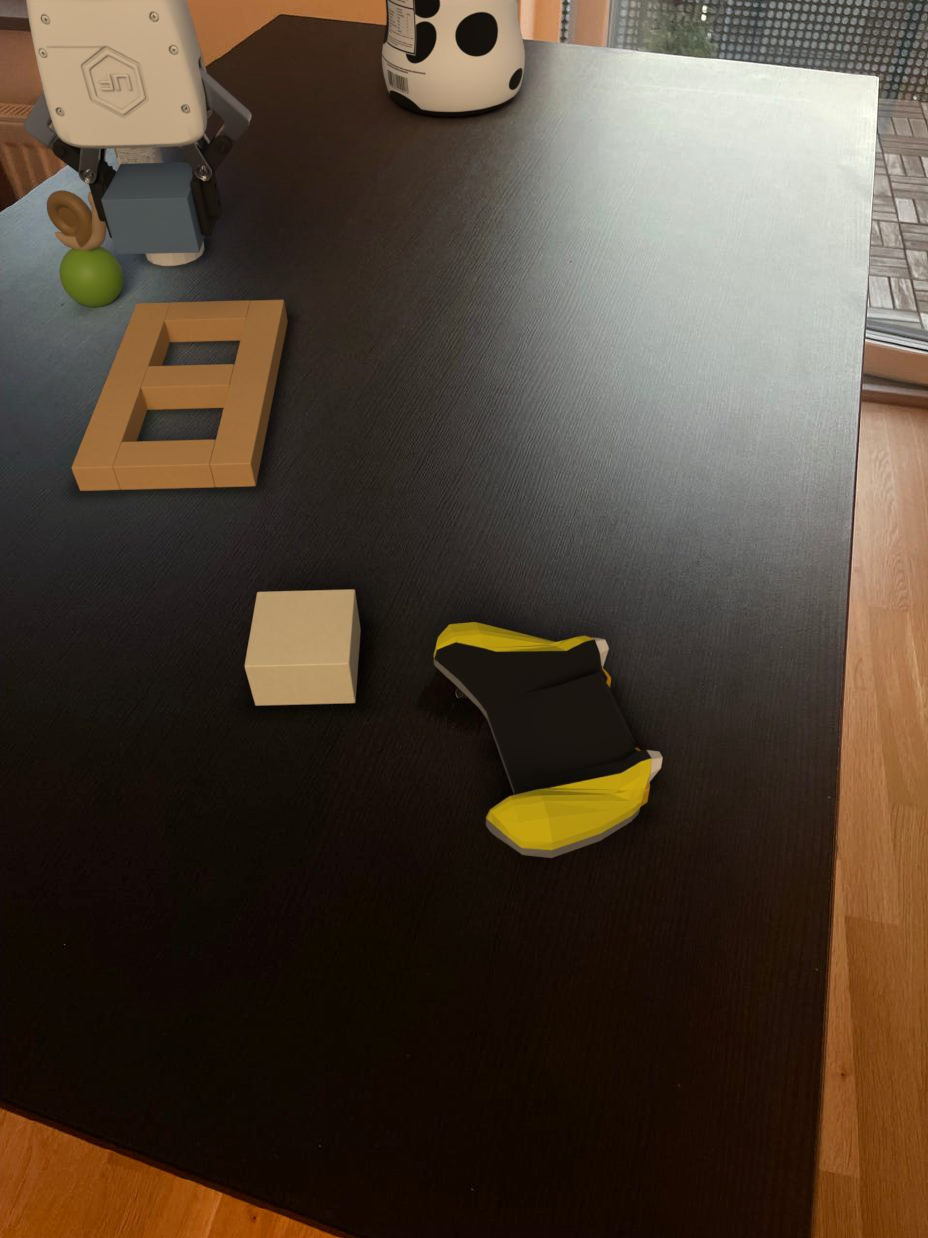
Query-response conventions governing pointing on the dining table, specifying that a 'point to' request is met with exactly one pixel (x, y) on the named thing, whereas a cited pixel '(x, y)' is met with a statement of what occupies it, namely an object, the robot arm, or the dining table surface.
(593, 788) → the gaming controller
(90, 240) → the snail figurine
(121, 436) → the frame
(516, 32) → the milk container
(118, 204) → the slate block
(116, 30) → the robot arm
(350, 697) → the cream block
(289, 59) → the dining table surface
